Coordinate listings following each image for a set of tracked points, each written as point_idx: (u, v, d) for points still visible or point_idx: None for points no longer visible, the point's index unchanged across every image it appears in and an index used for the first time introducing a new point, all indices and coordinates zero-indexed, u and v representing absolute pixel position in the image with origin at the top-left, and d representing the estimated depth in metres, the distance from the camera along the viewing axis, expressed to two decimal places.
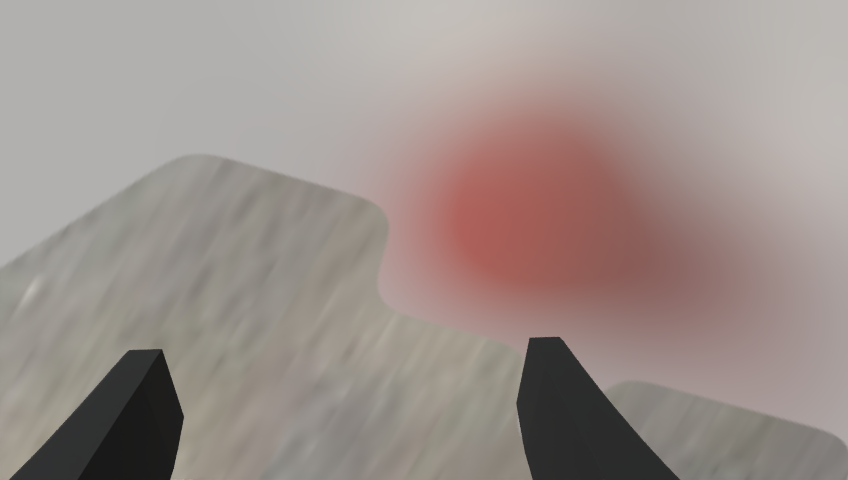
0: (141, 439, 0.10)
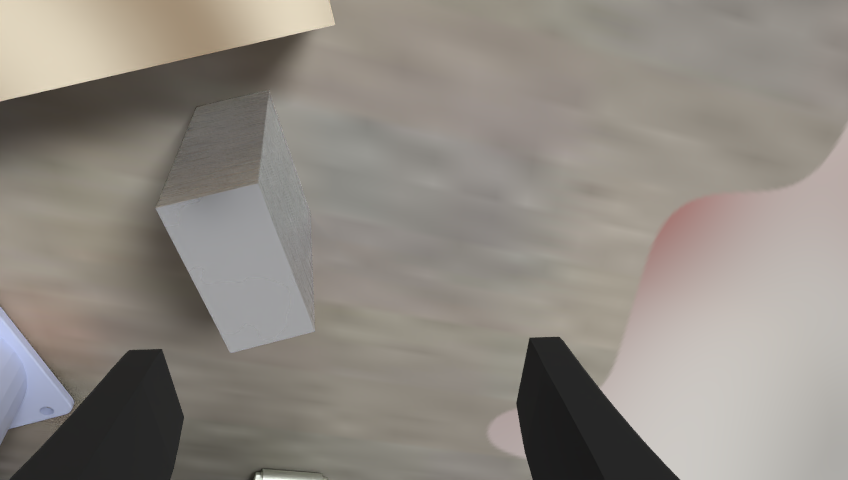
0: (141, 439, 0.10)
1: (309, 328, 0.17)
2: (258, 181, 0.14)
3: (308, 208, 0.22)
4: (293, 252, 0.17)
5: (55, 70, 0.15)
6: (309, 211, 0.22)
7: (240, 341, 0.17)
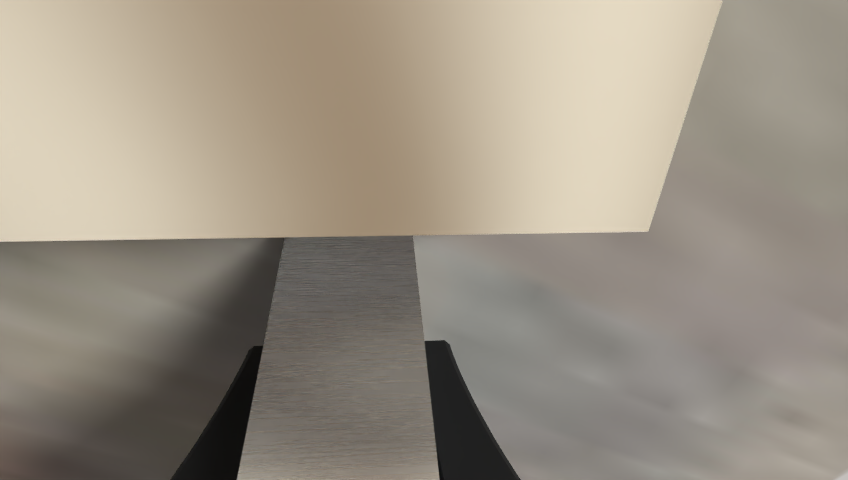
0: None
1: None
2: None
3: None
4: None
5: (56, 209, 0.07)
6: None
7: None
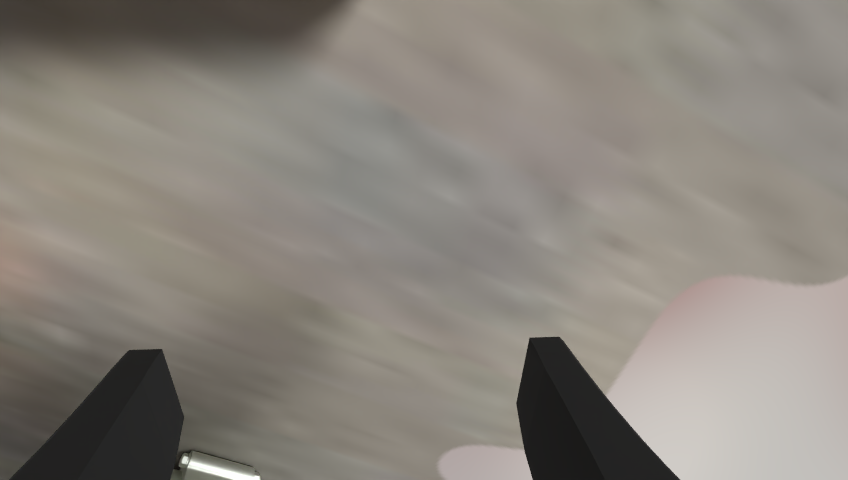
0: (141, 439, 0.10)
1: None
2: None
3: None
4: None
5: None
6: None
7: None
